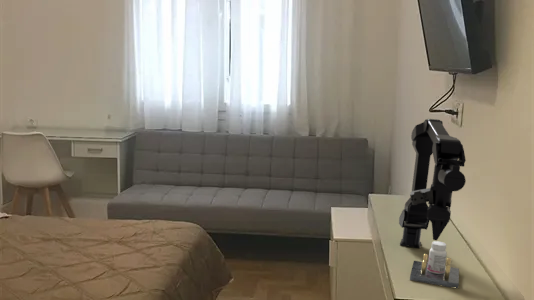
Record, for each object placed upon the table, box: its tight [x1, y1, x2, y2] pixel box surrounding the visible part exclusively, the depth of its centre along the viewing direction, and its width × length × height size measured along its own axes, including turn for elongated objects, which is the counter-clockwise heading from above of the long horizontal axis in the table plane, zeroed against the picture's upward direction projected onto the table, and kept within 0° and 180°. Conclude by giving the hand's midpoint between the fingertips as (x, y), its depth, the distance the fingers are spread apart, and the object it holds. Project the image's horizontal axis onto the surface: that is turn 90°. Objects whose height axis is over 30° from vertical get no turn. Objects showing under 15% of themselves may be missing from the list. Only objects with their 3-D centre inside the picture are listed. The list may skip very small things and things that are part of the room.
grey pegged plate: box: [409, 253, 460, 289], centre depth 170 cm, size 13×13×5 cm
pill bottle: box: [427, 240, 448, 274], centre depth 170 cm, size 5×5×8 cm
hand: (435, 235), depth 171 cm, fingers open, 9 cm apart
